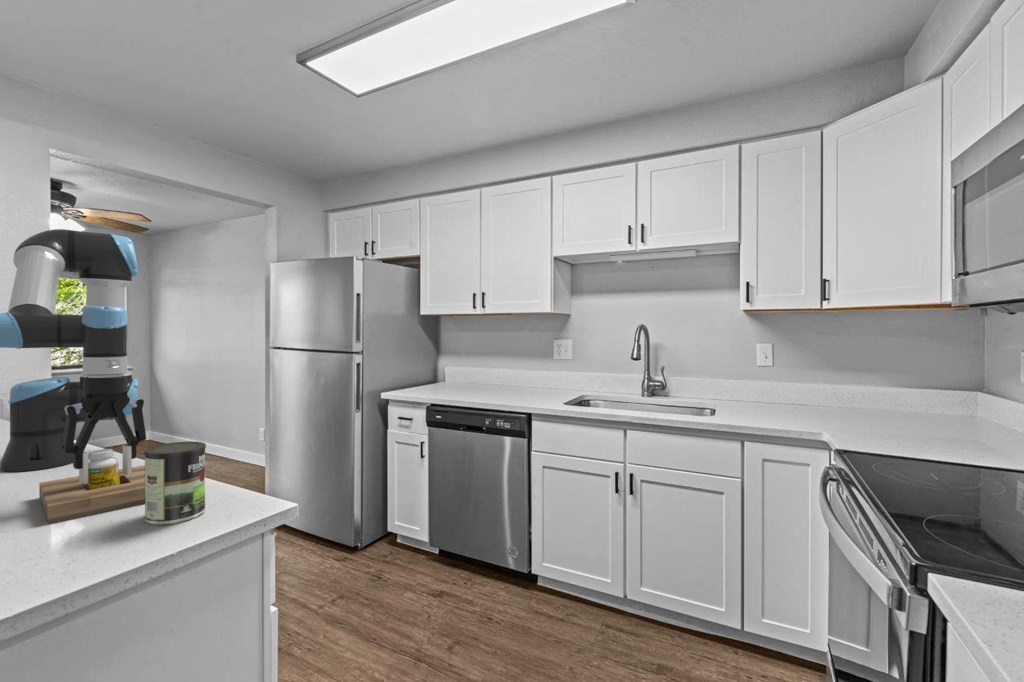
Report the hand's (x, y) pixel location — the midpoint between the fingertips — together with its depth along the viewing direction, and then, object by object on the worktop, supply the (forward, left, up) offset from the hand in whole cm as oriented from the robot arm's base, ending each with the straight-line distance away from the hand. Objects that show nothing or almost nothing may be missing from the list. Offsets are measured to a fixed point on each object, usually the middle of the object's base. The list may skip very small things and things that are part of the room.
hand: (106, 477), depth 106 cm
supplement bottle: (0, 0, -4) cm, 4 cm away
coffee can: (+4, +23, -5) cm, 24 cm away
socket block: (0, 0, -5) cm, 5 cm away
